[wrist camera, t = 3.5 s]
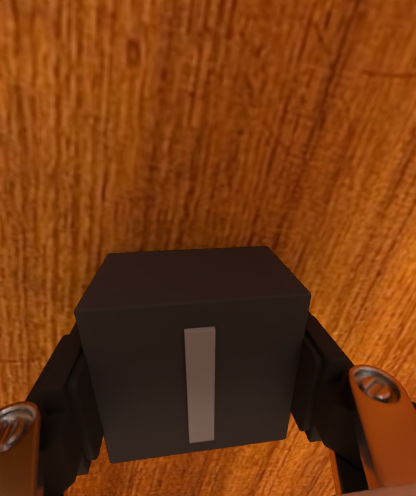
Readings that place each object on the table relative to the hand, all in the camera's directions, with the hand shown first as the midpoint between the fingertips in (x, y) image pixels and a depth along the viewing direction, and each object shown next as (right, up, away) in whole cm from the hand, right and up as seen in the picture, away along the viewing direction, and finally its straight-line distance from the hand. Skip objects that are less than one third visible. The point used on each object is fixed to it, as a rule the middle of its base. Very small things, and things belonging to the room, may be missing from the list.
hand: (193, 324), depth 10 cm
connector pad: (0, 0, +1) cm, 1 cm away
